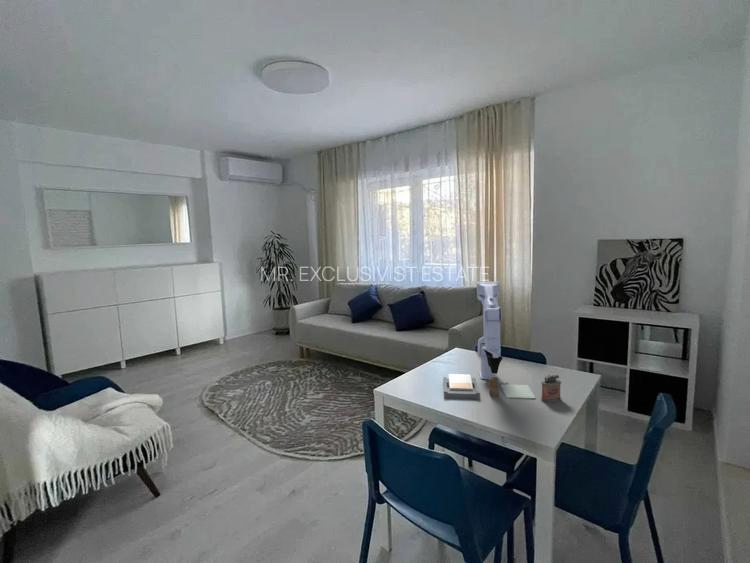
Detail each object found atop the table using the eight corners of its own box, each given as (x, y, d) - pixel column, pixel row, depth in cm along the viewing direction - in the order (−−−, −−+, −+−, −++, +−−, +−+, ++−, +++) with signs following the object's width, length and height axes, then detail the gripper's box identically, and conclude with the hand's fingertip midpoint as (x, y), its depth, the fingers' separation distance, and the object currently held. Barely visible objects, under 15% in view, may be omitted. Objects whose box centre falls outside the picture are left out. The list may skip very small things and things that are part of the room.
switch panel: (443, 382, 165) (443, 374, 164) (475, 383, 162) (475, 375, 162) (444, 397, 149) (444, 388, 148) (479, 398, 147) (479, 389, 146)
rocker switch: (448, 375, 160) (448, 373, 160) (470, 376, 159) (470, 374, 159) (449, 389, 152) (449, 387, 151) (472, 390, 150) (472, 388, 150)
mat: (500, 385, 159) (500, 384, 159) (527, 386, 157) (527, 385, 157) (506, 398, 146) (506, 396, 146) (535, 399, 145) (535, 397, 144)
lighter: (545, 403, 140) (545, 378, 139) (539, 399, 144) (539, 375, 143) (562, 400, 143) (563, 375, 141) (556, 396, 146) (556, 372, 145)
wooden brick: (488, 392, 152) (488, 376, 152) (496, 392, 152) (496, 376, 151) (490, 395, 149) (489, 379, 148) (498, 396, 149) (498, 379, 148)
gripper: (480, 332, 156) (480, 363, 157) (484, 341, 141) (485, 375, 143) (497, 332, 155) (497, 363, 156) (504, 341, 140) (504, 376, 142)
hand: (492, 369), depth 149 cm, fingers open, 7 cm apart
